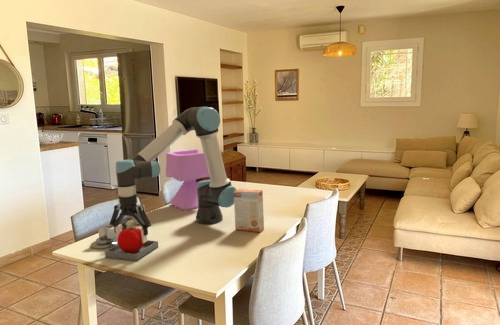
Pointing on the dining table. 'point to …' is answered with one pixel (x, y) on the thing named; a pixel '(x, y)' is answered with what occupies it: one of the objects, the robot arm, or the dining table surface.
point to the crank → (110, 232)
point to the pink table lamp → (186, 176)
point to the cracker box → (249, 210)
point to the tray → (135, 256)
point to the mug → (135, 213)
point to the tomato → (130, 240)
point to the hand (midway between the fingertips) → (131, 241)
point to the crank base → (104, 243)
